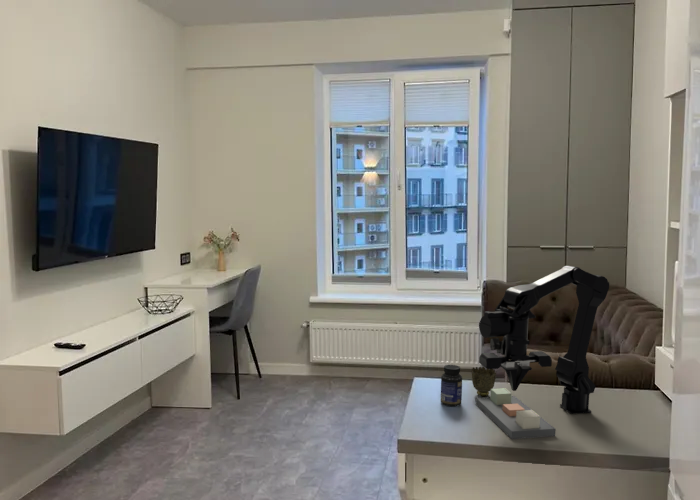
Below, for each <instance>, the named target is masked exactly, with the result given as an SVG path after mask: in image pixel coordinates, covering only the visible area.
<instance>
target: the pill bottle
mask: <svg viewBox="0 0 700 500" xmlns="http://www.w3.org/2000/svg"><path fill="white" fill-rule="evenodd" d="M443 371H444V373H442V375H441V378H440V403H441V405H443V406H446V407H451V408H452V407H454V408H455V407H459V406H461V405H462V400H463V399H462V394H463V375H461V374H460V373H461V367H460V366H459V365H456V364H445V365H444V366H443Z"/></svg>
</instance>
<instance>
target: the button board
mask: <svg viewBox="0 0 700 500" xmlns="http://www.w3.org/2000/svg"><path fill="white" fill-rule="evenodd" d="M517 403H518V404H519V405H520V406H521V407H522V408H524V409H525V410H533V409H531V407H530V406H528V405H527V404H525V403H524V402H523V401H522V400H521V399H519V398H518V397H517V396H515V395H511V404H517ZM475 405H476V406H477V407H478V408H479V409H480V410H481V411H482V412H483V413H484V414H485V415H486V416H487V417H488V418H490V420H492V422H493V423H495V425H496V426H498V427H499V428H500V430H502V432H503V433H505V435H507V436H508V437H509V438H510V439H511V440H517V439H528V438H529V439H530V438H532V439H533V438H534V439H535V438H546V437H547V438H548V437H550V438H551V437H556V428H555V427H554V426H553V425H552V424H551V423H549V422H548V421H547V420H545V419H544V418H543V417H542V416H540V427H539V428H532V429H522V428H521V427H520V426H519V425H518V424H517V423H516V416H508V415H507V414H506V413H504V412H503V411H502V410H503V404H502V405H496V404H494V403H493V402H492V401H491V400H490V396H486V397H476V398H475ZM535 413H536V414H538V413H537V412H535Z"/></svg>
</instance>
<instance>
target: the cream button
mask: <svg viewBox="0 0 700 500" xmlns="http://www.w3.org/2000/svg"><path fill="white" fill-rule="evenodd" d="M536 413H537V412H536V411H534V410H533V409H532V410H523V411H516V423H517V424H518V425H519V426H520V427H521V428H522V429H532V428H539V427H540V417H541V416H540V415H539V414H538V413H537V414H536Z"/></svg>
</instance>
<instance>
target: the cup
mask: <svg viewBox="0 0 700 500" xmlns="http://www.w3.org/2000/svg"><path fill="white" fill-rule="evenodd" d="M470 371H471V379H472V380H471V381H472V386H473V388H474V389H475V391H476V395H477V396H479V397H481V398H484V397H489V395H490V392H491V389H494V387H495V382H496V376H497V371H496V369H487V368H485V367H484V366H479V367H478V366H476V367H474V366H473V367H472V368H471V369H470Z"/></svg>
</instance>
